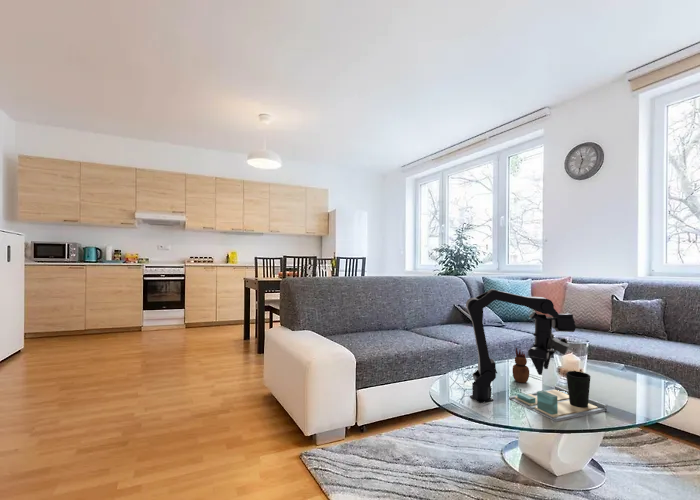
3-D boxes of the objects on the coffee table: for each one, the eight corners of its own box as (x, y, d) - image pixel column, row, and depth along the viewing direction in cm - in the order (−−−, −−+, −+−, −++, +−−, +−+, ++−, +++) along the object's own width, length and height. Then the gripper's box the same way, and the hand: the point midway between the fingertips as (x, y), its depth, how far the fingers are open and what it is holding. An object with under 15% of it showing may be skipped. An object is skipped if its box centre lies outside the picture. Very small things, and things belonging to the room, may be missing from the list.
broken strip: (531, 406, 137) (531, 400, 137) (514, 398, 144) (514, 392, 144) (574, 398, 144) (574, 392, 144) (555, 391, 152) (555, 385, 152)
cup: (594, 411, 132) (594, 378, 132) (571, 410, 134) (570, 377, 134) (585, 403, 140) (585, 371, 140) (563, 401, 141) (563, 370, 141)
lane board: (555, 421, 125) (555, 415, 125) (509, 398, 145) (509, 393, 145) (606, 410, 134) (606, 405, 134) (556, 390, 154) (556, 385, 154)
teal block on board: (554, 417, 127) (553, 398, 127) (534, 408, 135) (534, 390, 135) (598, 408, 134) (597, 390, 135) (577, 400, 142) (577, 383, 142)
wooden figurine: (510, 381, 165) (510, 347, 165) (515, 378, 169) (515, 345, 169) (526, 385, 160) (526, 350, 160) (531, 382, 164) (531, 348, 164)
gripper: (562, 338, 128) (562, 383, 128) (572, 329, 143) (571, 370, 142) (527, 333, 135) (527, 376, 135) (540, 326, 150) (540, 364, 150)
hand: (543, 371), depth 140 cm, fingers open, 9 cm apart
